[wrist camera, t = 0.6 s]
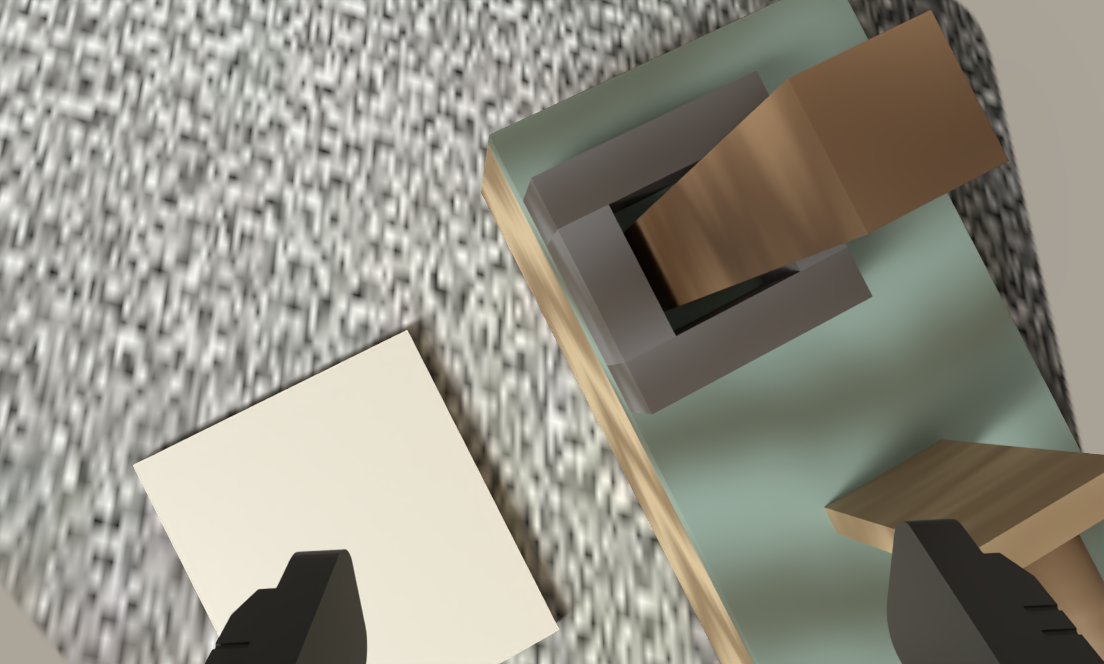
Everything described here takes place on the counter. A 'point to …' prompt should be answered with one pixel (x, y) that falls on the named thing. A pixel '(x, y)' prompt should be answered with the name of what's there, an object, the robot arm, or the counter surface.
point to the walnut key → (820, 165)
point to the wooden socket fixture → (791, 368)
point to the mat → (355, 511)
